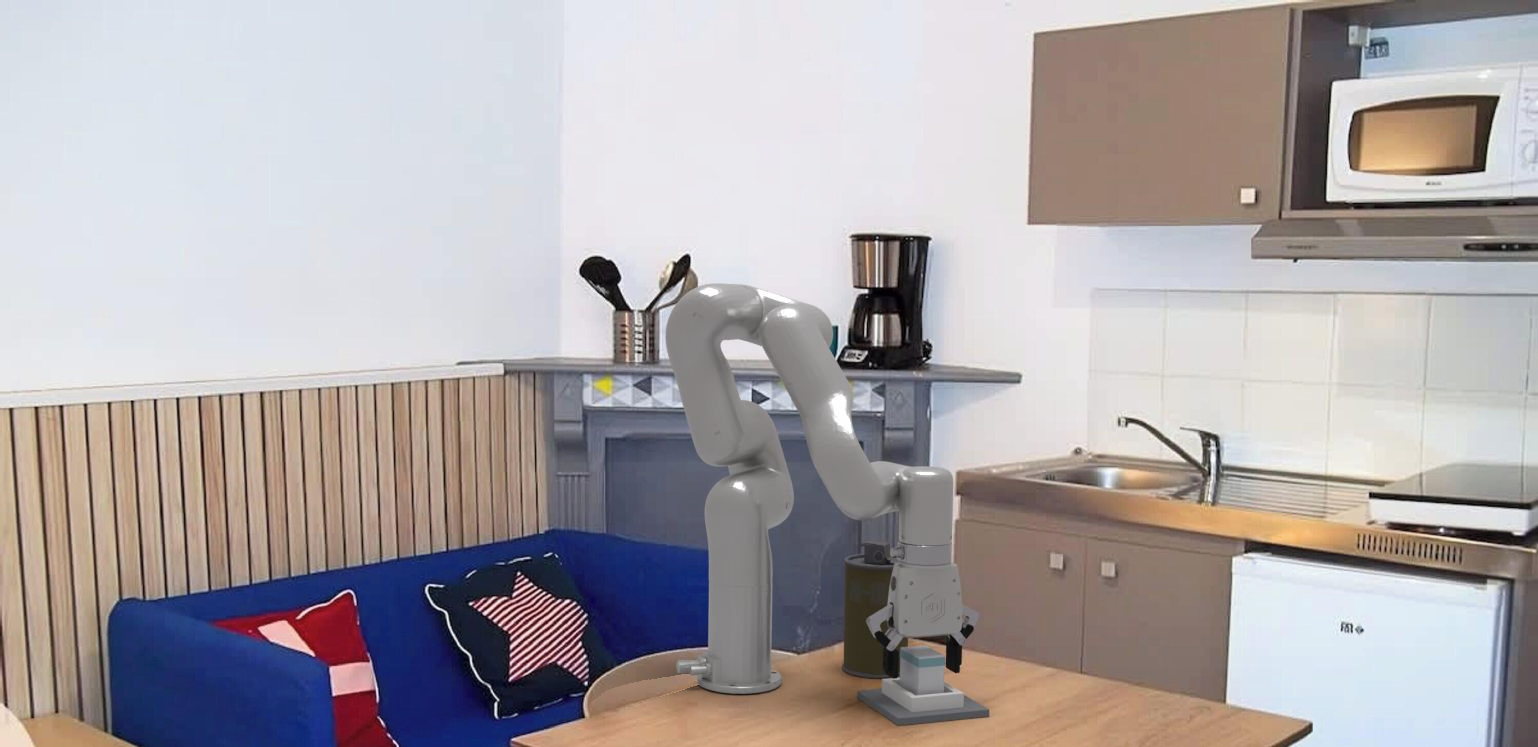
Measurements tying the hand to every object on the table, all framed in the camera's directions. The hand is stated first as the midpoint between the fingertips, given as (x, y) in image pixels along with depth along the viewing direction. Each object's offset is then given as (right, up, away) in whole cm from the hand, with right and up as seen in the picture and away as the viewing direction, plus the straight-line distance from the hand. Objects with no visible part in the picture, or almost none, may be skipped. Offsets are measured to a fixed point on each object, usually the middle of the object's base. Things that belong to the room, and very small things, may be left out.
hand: (922, 673), depth 202 cm
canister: (-5, -4, +20) cm, 21 cm away
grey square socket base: (0, -5, 0) cm, 5 cm away
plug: (0, -4, 0) cm, 4 cm away
